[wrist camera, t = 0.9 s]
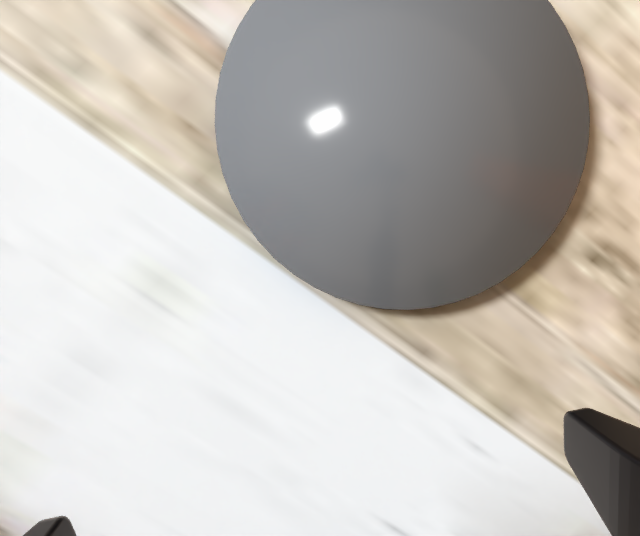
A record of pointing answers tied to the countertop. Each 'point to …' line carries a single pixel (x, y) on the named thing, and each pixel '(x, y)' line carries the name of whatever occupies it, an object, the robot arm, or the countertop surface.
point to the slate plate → (402, 141)
